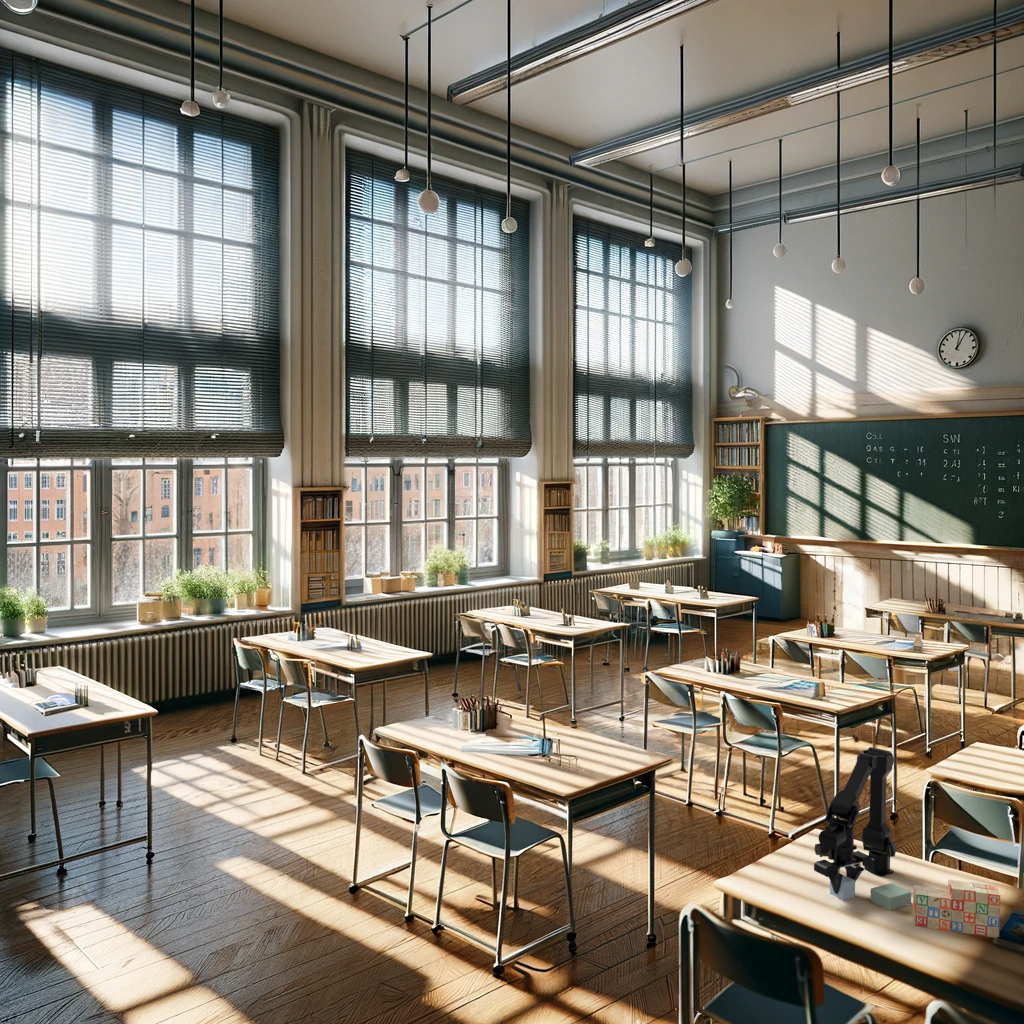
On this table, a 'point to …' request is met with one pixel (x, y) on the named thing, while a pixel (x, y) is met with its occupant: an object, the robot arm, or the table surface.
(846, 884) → the cube
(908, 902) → the pale green block
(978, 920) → the stack of blocks
